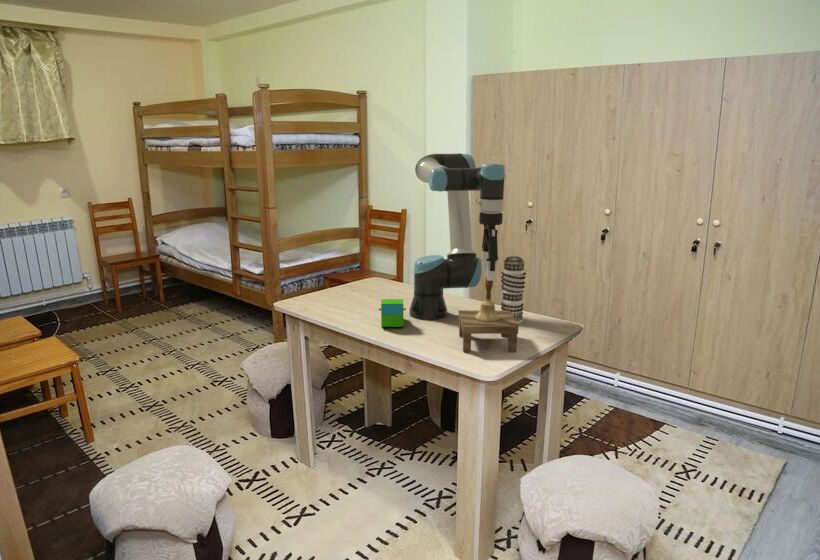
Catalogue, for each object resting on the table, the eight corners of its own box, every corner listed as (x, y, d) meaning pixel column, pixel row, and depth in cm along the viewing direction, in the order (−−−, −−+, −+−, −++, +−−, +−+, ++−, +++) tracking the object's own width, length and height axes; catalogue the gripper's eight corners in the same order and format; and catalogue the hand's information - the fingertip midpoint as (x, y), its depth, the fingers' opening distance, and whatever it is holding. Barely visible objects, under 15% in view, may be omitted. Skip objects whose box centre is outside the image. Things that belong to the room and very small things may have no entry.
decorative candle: (522, 325, 214) (525, 260, 208) (497, 323, 216) (500, 259, 210) (524, 318, 222) (528, 255, 216) (501, 316, 225) (503, 254, 219)
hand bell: (501, 316, 195) (503, 271, 191) (496, 323, 188) (498, 276, 184) (478, 313, 198) (479, 269, 194) (472, 320, 190) (473, 274, 187)
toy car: (405, 318, 222) (405, 293, 219) (406, 329, 209) (406, 303, 207) (379, 318, 222) (379, 294, 219) (378, 329, 209) (378, 303, 206)
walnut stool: (458, 334, 204) (458, 310, 202) (508, 334, 204) (509, 310, 202) (462, 352, 186) (463, 326, 184) (517, 352, 186) (518, 326, 184)
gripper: (475, 206, 196) (473, 266, 202) (484, 217, 172) (481, 284, 177) (496, 207, 196) (494, 266, 202) (509, 217, 172) (505, 284, 177)
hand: (488, 275), depth 189 cm, fingers open, 13 cm apart
